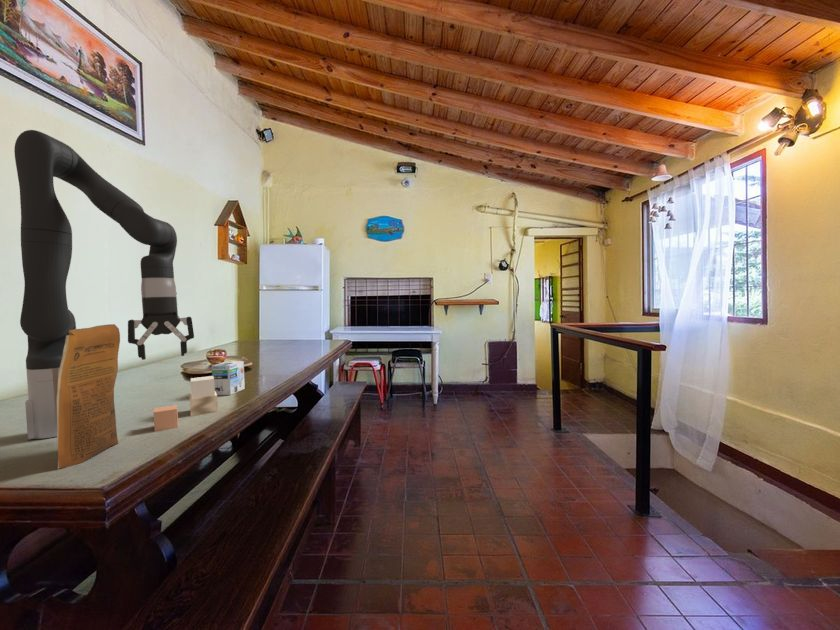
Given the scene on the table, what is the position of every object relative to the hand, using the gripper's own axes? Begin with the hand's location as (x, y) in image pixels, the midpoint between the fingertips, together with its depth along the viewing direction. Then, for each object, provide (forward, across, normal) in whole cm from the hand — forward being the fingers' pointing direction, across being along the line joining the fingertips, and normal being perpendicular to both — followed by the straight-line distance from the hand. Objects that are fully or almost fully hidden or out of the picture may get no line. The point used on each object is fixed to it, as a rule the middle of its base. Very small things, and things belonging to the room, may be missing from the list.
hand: (163, 357), depth 99 cm
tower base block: (+19, +9, +11) cm, 23 cm away
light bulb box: (+19, +18, +34) cm, 43 cm away
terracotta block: (+18, 0, 0) cm, 19 cm away
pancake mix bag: (+18, -13, -12) cm, 26 cm away
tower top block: (+14, +9, +11) cm, 20 cm away
